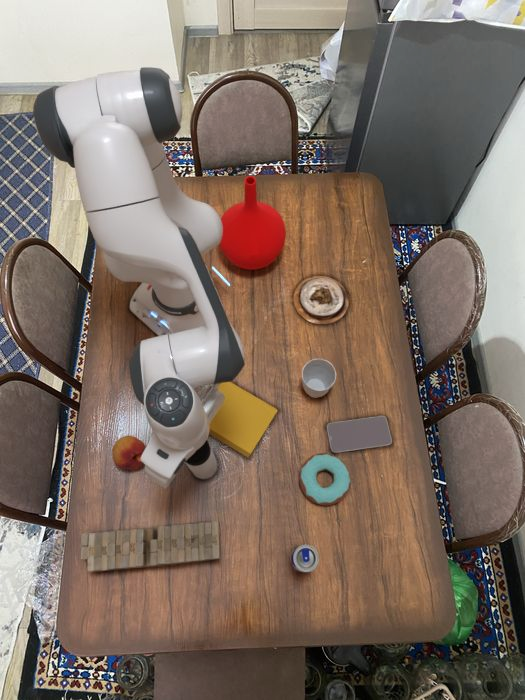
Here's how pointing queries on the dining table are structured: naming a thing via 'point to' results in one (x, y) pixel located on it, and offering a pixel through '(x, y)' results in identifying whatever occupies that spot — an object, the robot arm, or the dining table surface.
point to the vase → (252, 231)
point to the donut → (311, 485)
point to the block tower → (151, 546)
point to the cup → (318, 377)
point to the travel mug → (203, 462)
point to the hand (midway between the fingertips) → (192, 443)
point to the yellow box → (241, 419)
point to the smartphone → (358, 434)
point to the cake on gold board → (320, 300)
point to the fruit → (128, 452)
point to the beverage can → (304, 558)
